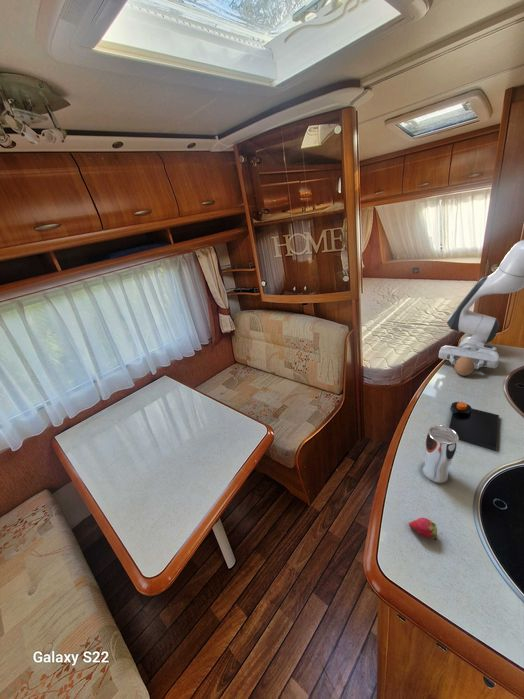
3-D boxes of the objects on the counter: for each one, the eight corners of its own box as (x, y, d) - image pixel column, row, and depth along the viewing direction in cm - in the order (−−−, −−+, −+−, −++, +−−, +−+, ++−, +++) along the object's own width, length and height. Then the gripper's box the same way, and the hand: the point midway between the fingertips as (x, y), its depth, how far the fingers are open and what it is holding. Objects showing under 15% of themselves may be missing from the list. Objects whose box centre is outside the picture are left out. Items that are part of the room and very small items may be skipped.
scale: (451, 406, 97) (452, 399, 96) (497, 418, 90) (500, 411, 88) (443, 435, 87) (445, 428, 86) (495, 451, 79) (498, 444, 78)
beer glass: (450, 468, 76) (460, 429, 70) (449, 488, 72) (459, 448, 65) (422, 459, 80) (428, 421, 74) (419, 478, 75) (425, 438, 69)
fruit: (411, 517, 67) (413, 505, 65) (439, 532, 63) (442, 519, 61) (405, 532, 64) (407, 519, 62) (435, 548, 60) (438, 536, 58)
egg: (449, 372, 115) (452, 355, 111) (462, 368, 116) (465, 352, 112) (462, 380, 109) (466, 362, 105) (476, 376, 110) (480, 358, 106)
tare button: (456, 404, 94) (457, 400, 94) (466, 406, 93) (467, 403, 92) (455, 409, 92) (456, 405, 92) (465, 411, 91) (466, 408, 90)
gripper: (442, 339, 123) (435, 353, 115) (501, 348, 111) (498, 364, 102) (440, 352, 126) (433, 365, 117) (497, 361, 113) (494, 378, 105)
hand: (464, 365), depth 109 cm, fingers closed on egg, 6 cm apart
